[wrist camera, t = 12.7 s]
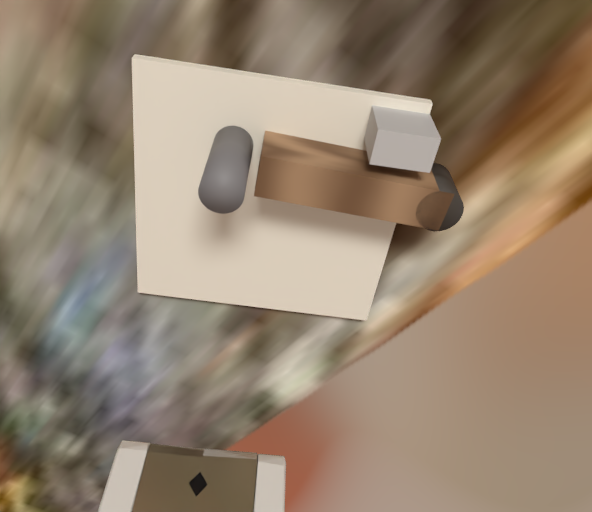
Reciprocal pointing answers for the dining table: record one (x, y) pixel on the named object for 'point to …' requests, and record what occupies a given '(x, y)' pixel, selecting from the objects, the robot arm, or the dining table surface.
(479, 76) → the dining table surface
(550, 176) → the dining table surface
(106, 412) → the dining table surface
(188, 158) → the wall mounted roll holder
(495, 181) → the dining table surface
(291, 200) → the leg
